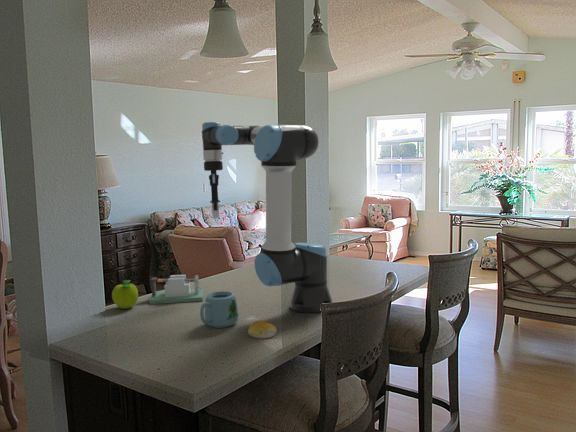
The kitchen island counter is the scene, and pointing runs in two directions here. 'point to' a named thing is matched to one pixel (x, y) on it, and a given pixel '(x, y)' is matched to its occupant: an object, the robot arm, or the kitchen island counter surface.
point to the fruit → (125, 295)
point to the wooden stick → (167, 280)
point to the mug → (220, 310)
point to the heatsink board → (177, 299)
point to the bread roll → (262, 330)
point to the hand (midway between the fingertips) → (215, 218)
